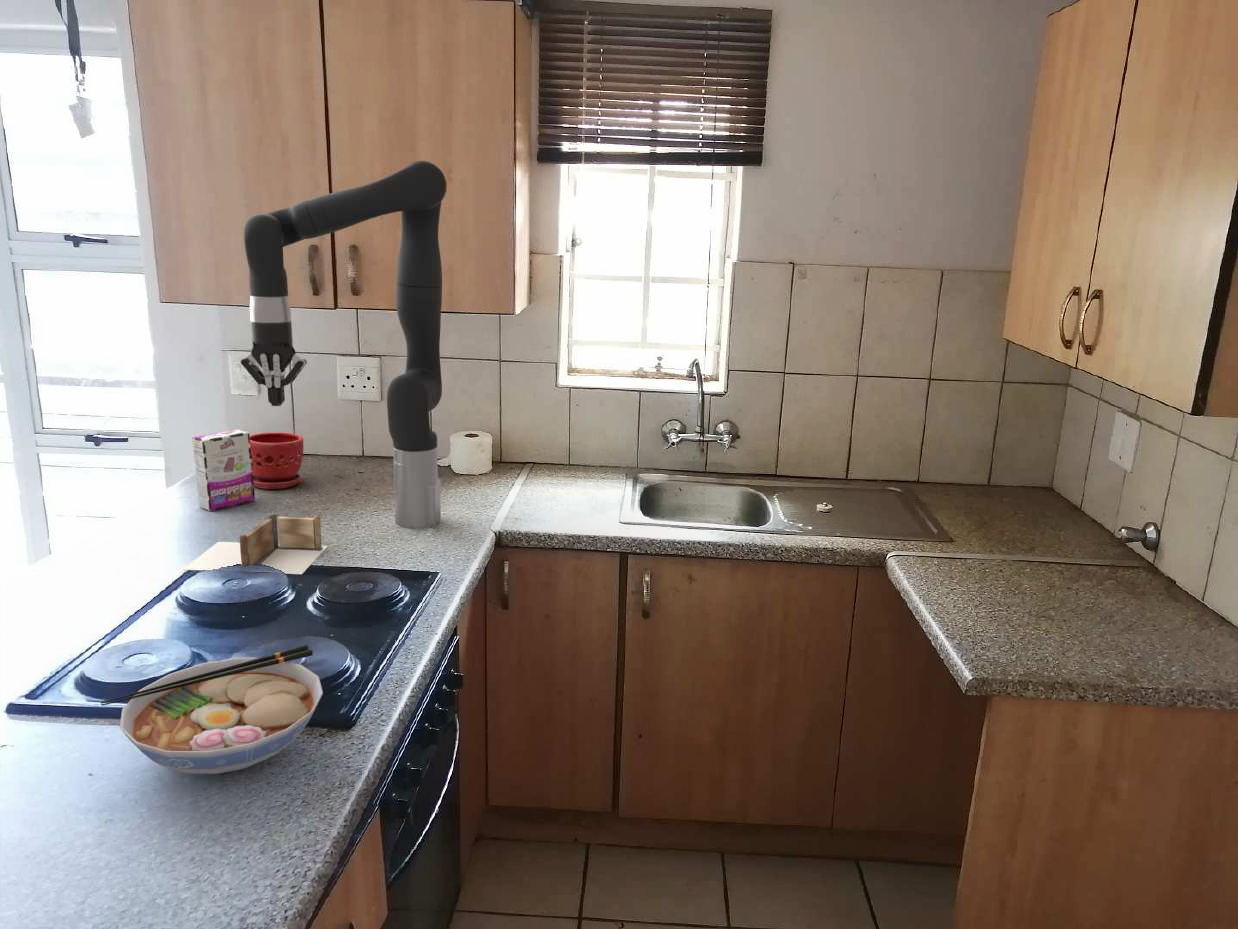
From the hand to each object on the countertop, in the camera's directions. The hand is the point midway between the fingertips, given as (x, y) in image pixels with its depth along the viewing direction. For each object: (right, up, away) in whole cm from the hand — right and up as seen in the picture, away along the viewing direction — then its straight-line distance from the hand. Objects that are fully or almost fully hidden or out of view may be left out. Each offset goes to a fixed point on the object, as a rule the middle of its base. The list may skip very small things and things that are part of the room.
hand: (276, 405), depth 184 cm
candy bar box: (-20, -21, +23) cm, 37 cm away
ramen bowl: (+21, -48, -71) cm, 88 cm away
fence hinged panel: (0, -30, -10) cm, 32 cm away
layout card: (0, -30, -9) cm, 31 cm away
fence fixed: (+5, -29, -4) cm, 29 cm away
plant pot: (-15, -17, +39) cm, 45 cm away
